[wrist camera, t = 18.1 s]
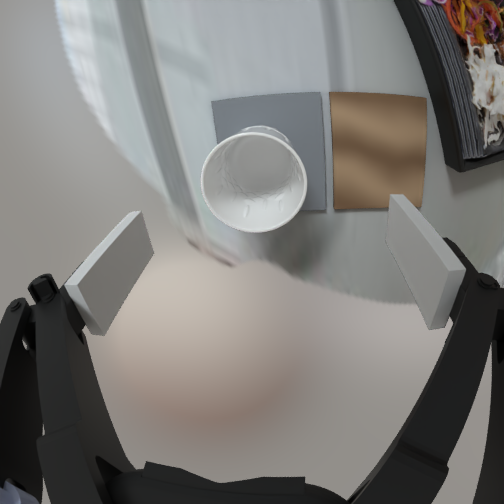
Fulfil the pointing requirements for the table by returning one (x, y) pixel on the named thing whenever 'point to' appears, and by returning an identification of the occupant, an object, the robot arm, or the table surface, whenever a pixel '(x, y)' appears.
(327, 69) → the table surface
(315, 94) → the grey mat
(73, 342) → the robot arm
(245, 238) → the table surface
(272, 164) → the white cup
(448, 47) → the food platter
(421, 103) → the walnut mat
